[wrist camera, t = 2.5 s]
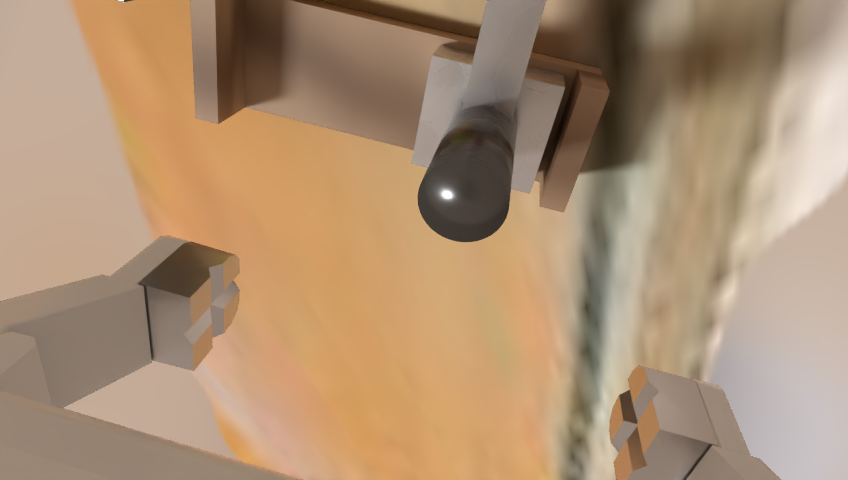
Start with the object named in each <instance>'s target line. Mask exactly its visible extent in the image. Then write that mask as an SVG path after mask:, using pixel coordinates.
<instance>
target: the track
mask: <svg viewBox="0 0 848 480" xmlns="http://www.w3.org/2000/svg"><path fill="white" fill-rule="evenodd" d="M190 10H191V30H192V51H193V72H194V92H195V113H196V119H200V120H204V121H208V122H212V123H216V124H219V123H221V122H222V121H224V120H225V119H227V118H229V117H230V116H232V115H234V114H235V113H237V112H238V111H240V110H242V109H243V108H245V107H246V108H249V109H253V110H257V111H261V112H265V113H269V114H273V115H277V116H281V117H285V118H289V119H293V120H297V121H301V122H305V123H309V124H313V125H317V126H321V127H324V128H328V129H332V130H336V131H340V132H344V133H348V134H352V135H356V136H360V137H364V138H368V139H372V140H376V141H380V142H384V143H388V144H392V145H396V146H400V147H403V148H407V149H411V150H414V147H415V142H416V136H417V131H418V126H419V121H420V115H421V110H422V105H423V100H424V94H425V89H426V84H427V79H428V73H429V68H430V63H431V58H432V55H433V54H434V52H435V51H436V50H437V49H438V47H439V46H440V45H443V46H447V47H451V48H455V49H459V50H463V51H468V52H472V53H475V50H476V46H477V41H478V39H475V38H471V37H467V36H463V35H459V34H455V33H450V32H446V31H442V30H438V29H434V28H429V27H425V26H421V25H417V24H413V23H408V22H404V21H400V20H396V19H392V18H387V17H383V16H379V15H375V14H371V13H366V12H362V11H358V10H354V9H350V8H345V7H341V6H337V5H333V4H329V3H325V2H320V1H316V0H190ZM527 66H530V67H534V68H538V69H542V70H547V71H551V72H555V73H559V74H563V77H564V83H565V90H564V93H563V96H562V99H561V102H560V105H559V108H558V111H557V114H556V117H555V120H554V123H553V126H552V129H551V132H550V135H549V138H548V141H547V144H546V147H545V150H544V153H543V156H542V159H541V162H540V165H539V168H538V171H537V174H536V177H535V180H534V181H538V182H540V207H544V208H548V209H552V210H556V211H560V212H564V211H565V208H566V206H567V203H568V201H569V198H570V195H571V193H572V190H573V188H574V185H575V182H576V180H577V177H578V174H579V172H580V169H581V167H582V164H583V161H584V159H585V156H586V153H587V151H588V148H589V146H590V143H591V140H592V138H593V135H594V133H595V130H596V127H597V125H598V122H599V119H600V117H601V114H602V112H603V109H604V106H605V104H606V101H607V99H608V96H609V93H610V90H609V88H608V85H607V83H606V81H605V78H604V76H603V74H602V71H601V69H600V68H597V67H593V66H589V65H584V64H580V63H576V62H572V61H568V60H564V59H559V58H555V57H551V56H547V55H543V54H538V53H534V52H531V55H530V58H529V62H528V65H527Z"/></svg>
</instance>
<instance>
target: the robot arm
mask: <svg viewBox="0 0 848 480" xmlns="http://www.w3.org/2000/svg"><path fill="white" fill-rule="evenodd" d="M239 273H240V267H239V258H238V257H237V256H236V255H234V254H231V253H228V252H224V251H221V250H217V249H214V248H211V247H207V246H204V245H201V244H197V243H194V242H189V241H186V240H183V239H179V238H176V237H172V236H169V235H167V236H161V237H159V238H158V239H157V240H155V241H154V242H153V243H152V244H150V245H149V246H148V247H147V248H145V249H144V250H143V251H142V252H140V253H139V254H138V255H137V256H136V257H134V258H133V259H131V260H130V261H129V262H128V263H126V264H125V265H124V266H123V267H121V268H120V269H119V270H117V271H116V272H115V273H114V274H113V275H111V276H110V277H109V276H106V275H99V276H95V277H91V278H87V279H84V280H80V281H76V282H72V283H68V284H64V285H61V286H57V287H53V288H49V289H45V290H42V291H38V292H34V293H30V294H26V295H22V296H19V297H15V298H11V299H7V300H3V301H0V480H302V479H299V478H295V477H292V476H289V475H285V474H282V473H279V472H275V471H272V470H269V469H265V468H262V467H258V466H255V465H252V464H248V463H245V462H242V461H238V460H235V459H231V458H228V457H225V456H222V455H218V454H215V453H211V452H208V451H205V450H201V449H198V448H194V447H191V446H188V445H184V444H181V443H178V442H174V441H171V440H167V439H164V438H161V437H158V436H154V435H151V434H147V433H144V432H141V431H137V430H134V429H131V428H127V427H124V426H121V425H117V424H114V423H111V422H107V421H104V420H101V419H97V418H94V417H90V416H87V415H83V414H80V413H77V412H74V411H70V410H67V409H64V407H65V406H68V405H69V404H71V403H73V402H75V401H77V400H79V399H81V398H83V397H85V396H87V395H89V394H91V393H93V392H95V391H97V390H99V389H101V388H103V387H105V386H107V385H109V384H111V383H113V382H115V381H117V380H118V379H120V378H122V377H124V376H126V375H128V374H130V373H132V372H134V371H136V370H138V369H140V368H142V367H144V366H146V365H148V364H150V363H152V360H153V361H157V362H161V363H165V364H169V365H173V366H177V367H181V368H184V369H188V370H192V371H194V370H195V369H196V368H197V367H198V365H199V364H200V363H201V361H202V360H203V359H204V358H205V356H206V355H207V354H208V353H209V351H210V350H211V349H212V338H213V337H216V336H218V335H221V334H223V333H224V332H225V331H226V330H227V328H228V327H229V326H230V324H231V323H232V321H233V319H234V316H235V314H236V312H237V309H238V304H239V292H240V290H239V288H238V287H237V285H236V284H235V282H234V281H233V280H234V278H235V277H236V276H237V275H238V274H239ZM628 382H629V387H630V390H629V391H627V392H625V393H623V394H620V395H619V396H618V398H617V400H616V402H615V404H614V406H613V409H612V413H611V418H610V429H609V432H610V440H611V443H612V445H613V446H614V447H615V448H616V450H617V451H618V452H619V454H618V456H617V458H616V459H615V461H614V468H615V474H616V480H781V479H780V478H779V477H778V476H777V475H776V474H775V473H774V472H773V471H772V470H771V469H770V468H769V467H767V465H766V464H764V462H763V461H762V460H760V459H759V458H756V457H753V456H751V455H750V453H749V450H748V448H747V446H746V443H745V441H744V438H743V436H742V434H741V432H740V429H739V426H738V424H737V422H736V419H735V417H734V415H733V412H732V410H731V407H730V405H729V402H728V400H727V398H726V395H725V393H724V391H723V389H722V388H721V387H720V386H718V385H716V384H712V383H708V382H704V381H700V380H695V379H688V378H685V377H681V376H677V375H673V374H670V373H666V372H662V371H659V370H655V369H651V368H647V367H644V366H640V365H638V366H637V367H636V368H635V369H634V370H633V371H632V373H631V375H630V377H629V378H628Z"/></svg>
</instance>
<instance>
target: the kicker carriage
mask: <svg viewBox="0 0 848 480" xmlns="http://www.w3.org/2000/svg"><path fill="white" fill-rule="evenodd" d="M545 3H546V0H487V3H486V7H485V11H484V16H483V20H482V24H481V28H480V33H479V37H478V41H477V46H476V50H475V53H472V52H468V51H463V50H459V49H455V48H451V47H447V46H443V45H440V46H439V47H438V49H437V50H436V51H435V52H434V54H433V55H432V58H431V63H430V68H429V73H428V79H427V84H426V89H425V94H424V100H423V105H422V110H421V115H420V121H419V126H418V131H417V136H416V142H415V147H414V152H413V157H412V164H415V165H419V166H423V167H427V168H428V169H427V172H426V174H425V176H424V178H423V180H422V182H421V185H420V188H419V191H418V206H419V210H420V213H421V215H422V217H423V219H424V220H425V222H426V223H427V224H428V226H429V227H430V228H431V229H432V230H434V231H435V232H436V233H438V234H439V235H441V236H443V237H445V238H447V239H450V240H454V241H458V242H473V241H478V240H481V239H484V238H486V237H488V236H490V235H492V234H493V233H494V232H496V231H497V230H498V229H499V228H500V227H501V225H502V224H503V222H504V221H505V219H506V216H507V214H508V210H509V201H510V192H511V189H514V190H518V191H521V192H525V193H529V194H530V192H531V189H532V186H533V183H534V180H535V177H536V174H537V171H538V168H539V165H540V162H541V159H542V156H543V153H544V150H545V147H546V144H547V141H548V138H549V135H550V132H551V129H552V126H553V123H554V120H555V117H556V114H557V111H558V108H559V105H560V102H561V99H562V96H563V93H564V90H565V83H564V77H563V74H559V73H555V72H551V71H547V70H542V69H538V68H534V67H530V66H527V65H528V62H529V58H530V55H531V51H532V48H533V44H534V41H535V37H536V34H537V31H538V27H539V24H540V20H541V17H542V13H543V10H544V6H545Z"/></svg>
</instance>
